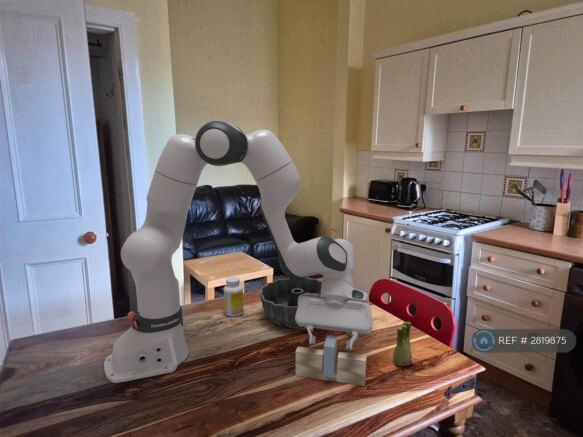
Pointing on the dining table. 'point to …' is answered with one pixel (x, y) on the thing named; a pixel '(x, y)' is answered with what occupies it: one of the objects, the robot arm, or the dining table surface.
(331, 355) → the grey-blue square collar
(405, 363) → the fennel bulb
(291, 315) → the bundt pan
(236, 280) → the supplement bottle
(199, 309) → the dining table surface
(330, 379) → the beech slot board
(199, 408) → the dining table surface
